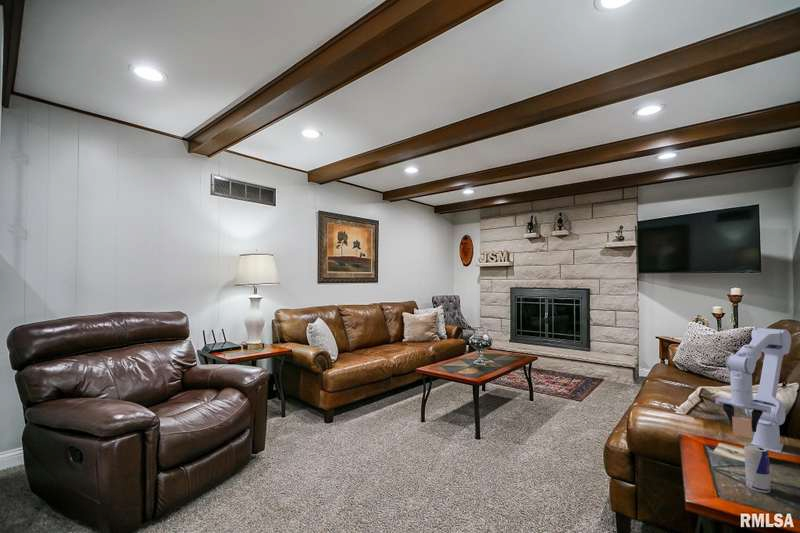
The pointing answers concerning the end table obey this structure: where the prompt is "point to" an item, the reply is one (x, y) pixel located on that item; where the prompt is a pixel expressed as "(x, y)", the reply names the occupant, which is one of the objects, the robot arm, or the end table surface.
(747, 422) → the salmon cube
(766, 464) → the energy drink
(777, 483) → the end table surface
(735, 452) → the birch board
